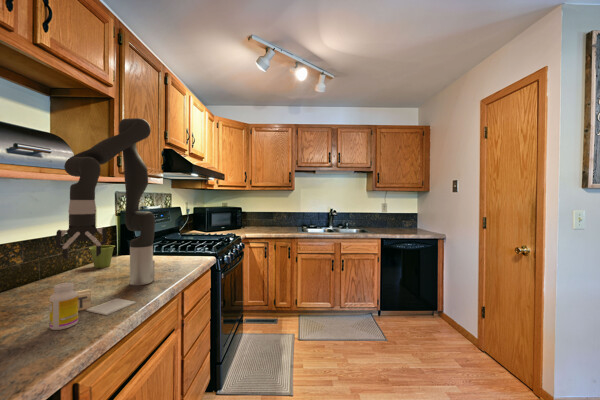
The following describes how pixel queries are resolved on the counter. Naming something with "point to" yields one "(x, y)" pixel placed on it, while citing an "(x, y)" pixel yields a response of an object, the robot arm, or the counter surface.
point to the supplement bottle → (63, 306)
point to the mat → (111, 306)
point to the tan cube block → (84, 299)
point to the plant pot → (102, 256)
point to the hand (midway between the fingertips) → (82, 257)
